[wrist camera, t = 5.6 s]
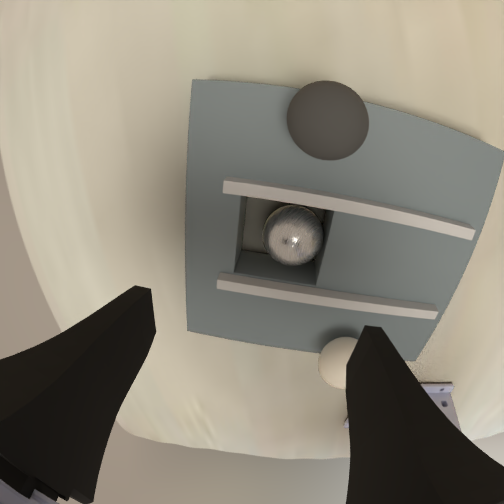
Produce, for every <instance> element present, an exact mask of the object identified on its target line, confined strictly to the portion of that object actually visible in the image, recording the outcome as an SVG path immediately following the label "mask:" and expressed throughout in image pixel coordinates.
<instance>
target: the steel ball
mask: <svg viewBox="0 0 504 504" xmlns="http://www.w3.org/2000/svg"><path fill="white" fill-rule="evenodd" d="M322 242H323V229H322V225H321V223H320V221H319V219H318V218H317V216H316V215H315V214H314V213H313V212H312V211H310V210H309V209H307V208H305V207H302V206H298V205H287V206H283V207H281V208H279V209H277V210H275V211H274V212H273V213H272V214H271V215H270V216H269V217H268V219H267V220H266V222H265V225H264V228H263V243H264V246H265V248H266V250H267V252H268V253H269V255H270V256H271V257H272V258H273V259H274V260H276V261H277V262H279V263H281V264H284V265H289V266H297V265H302V264H305V263H307V262H309V261H310V260H311V259H313V258H314V257H315V256H316V255H317V253H318V252H319V250H320V248H321V246H322Z"/></svg>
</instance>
